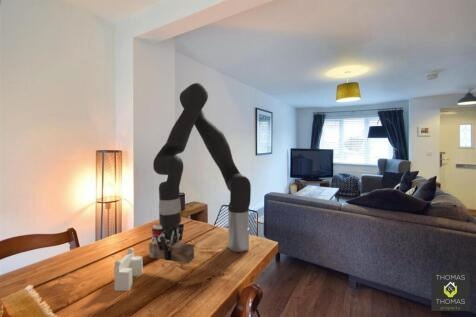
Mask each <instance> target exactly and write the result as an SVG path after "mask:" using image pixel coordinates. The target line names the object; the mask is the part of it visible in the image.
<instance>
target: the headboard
mask: <svg viewBox="0 0 476 317" xmlns="http://www.w3.org/2000/svg"><path fill="white" fill-rule="evenodd" d="M143 260H144V259H143V256H135V251H134V248H133V247H129V248H128V250H127V253H126V254H125V255H124V256H123V257H122V258H121V259H117V260H115V262H114V266H113V267H114V268H113V269H114V270H113V272H114V273H113V275H114V277H113V278H114V291H115V292H116V291H117V292H118V291H120V292H122V291H128V292H130V290H131V289H132V288H133V283H134V282H133V277H141V275H142V274H143V272H144V269H143V268H144V264H143Z"/></svg>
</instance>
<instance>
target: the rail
mask: <svg viewBox="0 0 476 317" xmlns="http://www.w3.org/2000/svg"><path fill="white" fill-rule="evenodd" d="M166 245H167V247H168V244H167V243H166ZM194 246H195V245H194V244H191V243H184V242H179V243H178V242H173V243H172V244H171V249H170V250H171V260H170V261H171V262H177V263H183V264H186V265H187V264H189V263H191V262H192V261H193V260H194V259H195V249H194V248H195V247H194ZM148 247H149V250H148V251H149V258H151V259H152V258H153V259H160V260H164V261H166V260H165V258H164V251H161V250H159V247H158V244H157V240H154V241H152V240H151V242H149V245H148ZM162 247H163V246H162Z"/></svg>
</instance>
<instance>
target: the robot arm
mask: <svg viewBox="0 0 476 317" xmlns="http://www.w3.org/2000/svg"><path fill="white" fill-rule="evenodd" d="M208 98H209V94H208V90H207V88H206V86H204V85H203V84H201V83H198V82H194V83H191V84H190V85H189V86H187V87H186V88H185V89H183V90H182V91H181V92H180V93H179V101H180V104H181V106H182V109H183V111H182V112H181V114H180V115H179V117H178V118H177V120H176V122H174V125H173V126H172V128H171V131H170V132H169V135H168V137H167V140H166V141H165V144H164V145H163V146H162V147H161V149H160V150H159V151H158V153H157V154H156V156H155V158H154V159H153V162H152V163H153V171H154V172H155V174H156V175H162V176H163V175H164V176H167V178H166V181H162V182H160V183H159V186H158V197H159V200H158V201H159V202H158V215H159V216H158V217H159V218H158V219H159V220H158V221H159V222H158V224H160V225H161V226H162V231H161V234H160V236H156V240H157V244H158V247H159V250H161V251H164V258H165V260H164V261H167V262H169V261H170V260H171V250H170V249H171V244H172V243H173V242H178V243H180V242H181V241H182V240H183V236H184V228H185V225H184V224H182V223H181V222H182V208H181V207H182V206H181V204H182V203H181V198H180V197H181V196H180V194H181V193H180V185H181V180H182V176H183V172H184V162H183V159H182V158H181V157H180V156H179V155H178V154H181V153H183V152H184V151H185V149H186V147H187V144H188V141H189V139H190V135H191V132H192V130H193V128H194V127H195V128H196V130H197V132H198V134H199V135H200V137H201V140H202V141H203V144H204V146H205V147H206V149H207V151H208V153H209V154H210V156H211V158H212V160H213V161H214V163H215V164H216V166H217V168H218V169H219V170H220V173H221V175H222V177H223V180H224V182H225V186H226V188H227V190H228V191H229V192H230V194H229V203H228V206H227V207H228V208H227V210H228V213H227V215H228V217H227V221H228V222H227V224H228V225H227V229H228V232H227V234H228V235H227V238H228V240H227V243H228V244H227V246H228V247H227V248H228V250H229V251H231V252H235V253H241V252H242V253H243V252H246V251H250V224H249V223H250V222H249V221H250V220H249V218H250V217H249V216H250V213H249V212H250V210H249V209H250V205H251V199H252V198H251V197H252V196H251V195H252V192H251V191H252V190H251V189H252V188H251V186H252V184H251V181H250V180H249V178H248V177H247V176H245V175H243V174H242V173H241V172H240V171H239V169H238V168H237V166H236V163H235V162H234V159H233V154H232V150H231V147H230V144H229V142H228V140H227V138H226V136H225V133H224V132H223V131H222V130H221V129H220V128H219V127H218V126H217V125H216V124H215V123H213V122H212V121H211V120H210V119H209V118H208V117H207V116H206V114H205V112H204V111H203V108H204V106H206V103H207V101H208ZM167 240H170V241H167ZM166 243H167V244H168V247H167V245H166ZM162 246H163V247H162Z"/></svg>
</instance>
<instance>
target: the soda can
mask: <svg viewBox="0 0 476 317" xmlns="http://www.w3.org/2000/svg"><path fill="white" fill-rule="evenodd" d="M161 231H162V226H161V225H160V223H158V224H155V225H153V226H152V228H151V242H152V241H154V240H156V236H160V234H161ZM167 241H170V240H167Z"/></svg>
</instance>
